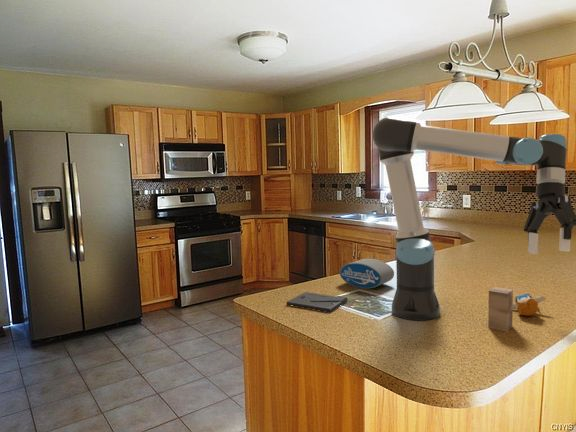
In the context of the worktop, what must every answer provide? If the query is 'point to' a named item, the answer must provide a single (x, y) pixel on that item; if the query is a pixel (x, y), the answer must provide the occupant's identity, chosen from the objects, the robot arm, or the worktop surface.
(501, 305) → the block
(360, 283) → the sign
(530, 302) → the toy
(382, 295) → the worktop surface
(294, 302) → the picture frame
